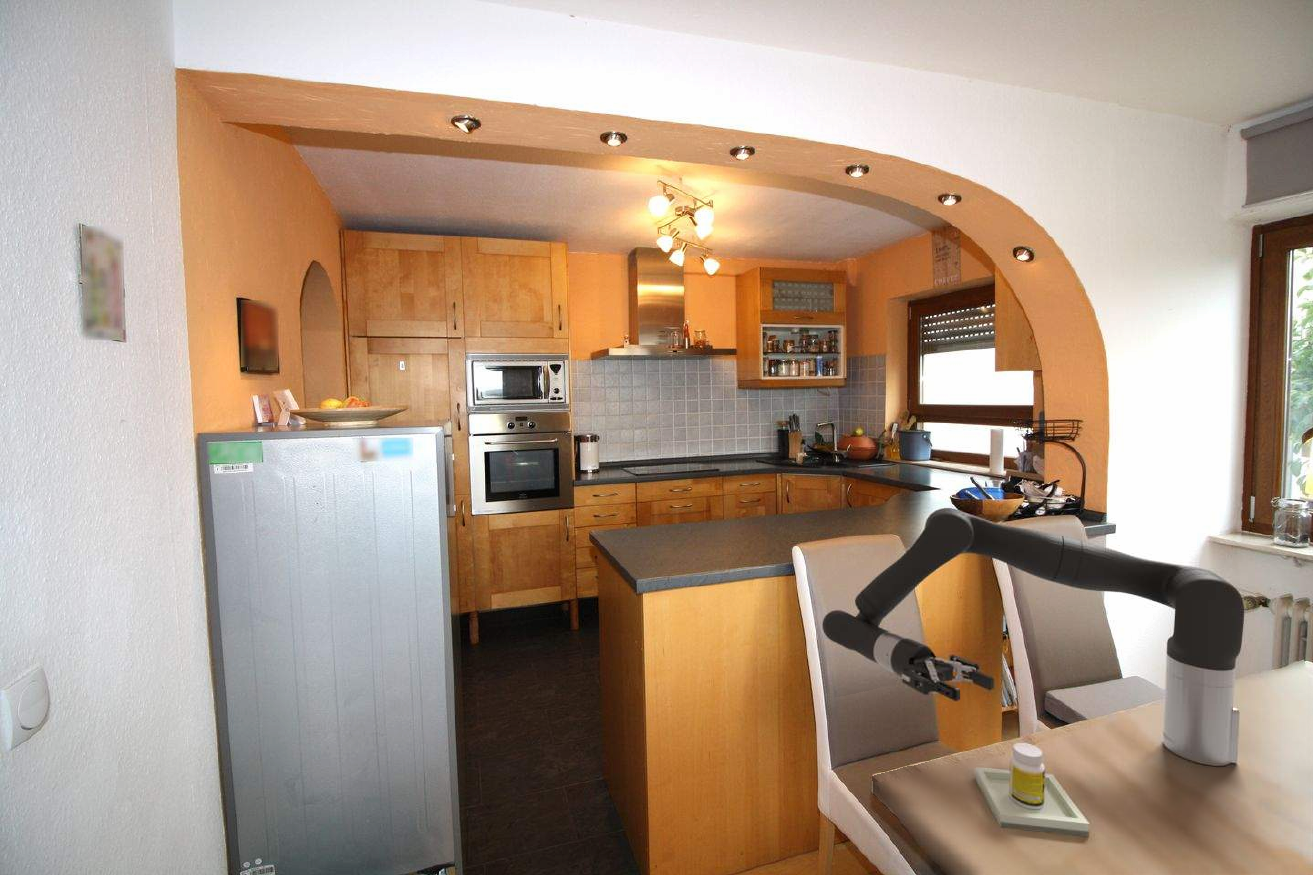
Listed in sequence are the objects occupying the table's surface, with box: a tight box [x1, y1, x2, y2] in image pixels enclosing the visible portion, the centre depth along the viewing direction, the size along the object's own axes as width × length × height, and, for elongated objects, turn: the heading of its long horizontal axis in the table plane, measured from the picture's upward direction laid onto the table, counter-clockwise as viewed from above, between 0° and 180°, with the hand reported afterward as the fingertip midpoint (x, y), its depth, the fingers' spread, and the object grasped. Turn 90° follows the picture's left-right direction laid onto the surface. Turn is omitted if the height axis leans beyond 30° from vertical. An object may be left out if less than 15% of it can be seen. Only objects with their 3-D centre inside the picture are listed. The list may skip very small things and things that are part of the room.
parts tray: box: [974, 766, 1090, 838], centre depth 96 cm, size 12×12×2 cm
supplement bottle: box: [1009, 742, 1046, 809], centre depth 96 cm, size 5×5×8 cm
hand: (976, 689), depth 105 cm, fingers open, 8 cm apart
